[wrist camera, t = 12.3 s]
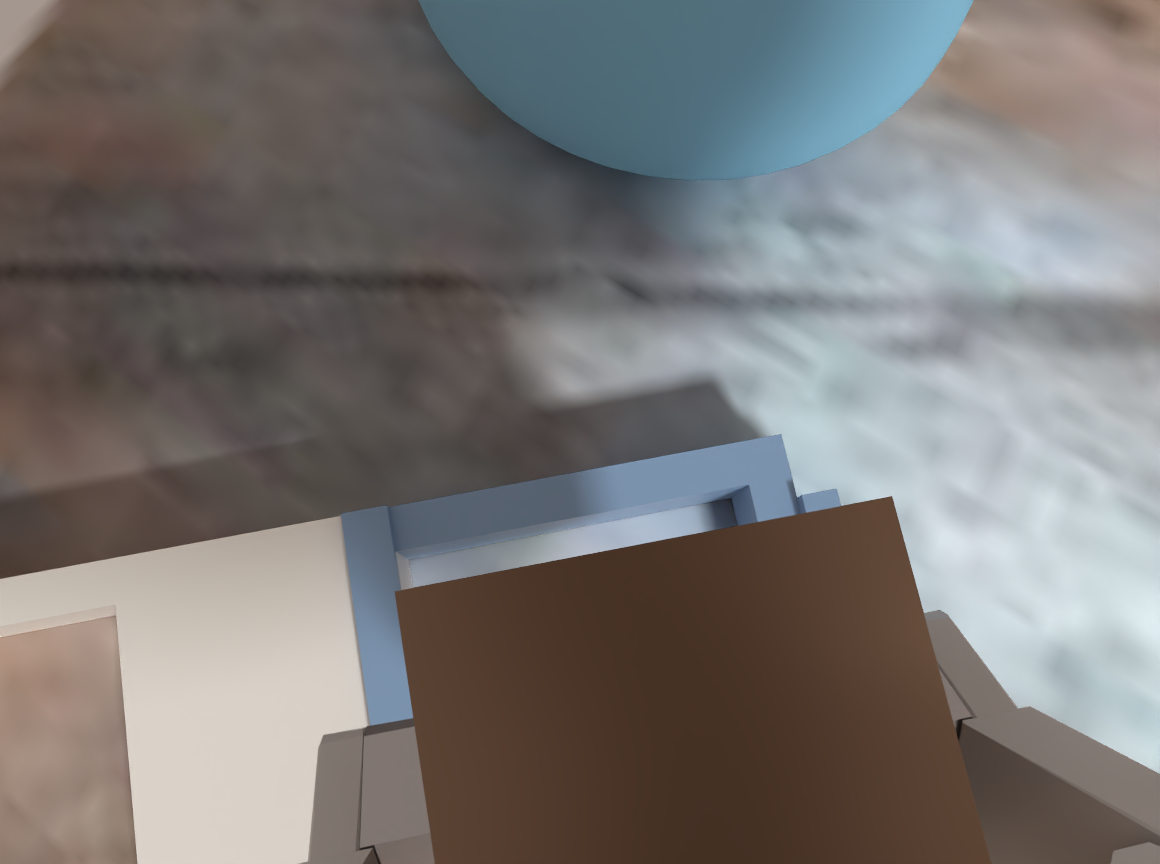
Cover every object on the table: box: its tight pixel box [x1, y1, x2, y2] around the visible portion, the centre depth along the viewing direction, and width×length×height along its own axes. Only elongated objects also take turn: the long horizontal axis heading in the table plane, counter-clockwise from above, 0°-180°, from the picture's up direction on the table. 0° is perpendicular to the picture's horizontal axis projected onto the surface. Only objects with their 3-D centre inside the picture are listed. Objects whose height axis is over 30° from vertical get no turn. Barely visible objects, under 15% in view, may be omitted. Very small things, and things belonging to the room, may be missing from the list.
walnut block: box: [394, 496, 992, 864], centre depth 12 cm, size 4×4×8 cm
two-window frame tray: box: [0, 434, 841, 864], centre depth 20 cm, size 25×10×2 cm, turn 101°
